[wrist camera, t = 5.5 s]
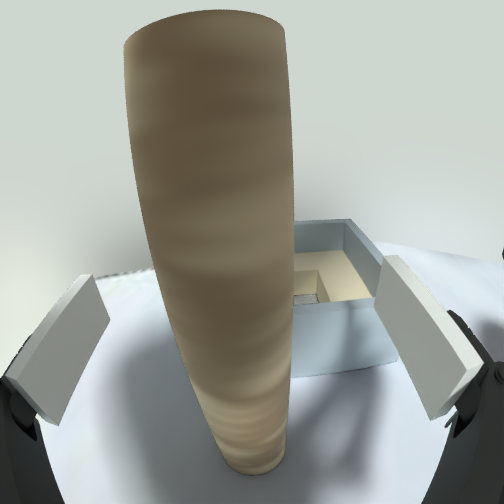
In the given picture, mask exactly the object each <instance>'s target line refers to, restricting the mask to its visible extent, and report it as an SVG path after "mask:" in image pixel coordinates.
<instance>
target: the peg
mask: <svg viewBox="0 0 504 504" xmlns="http://www.w3.org/2000/svg"><path fill="white" fill-rule="evenodd" d="M124 77H125V93H126V107H127V118H128V127H129V136H130V144H131V152H132V159H133V166H134V172H135V179H136V184H137V190H138V196H139V201H140V206H141V212H142V216H143V221H144V226H145V230H146V235H147V240H148V244H149V248H150V252H151V257H152V261H153V265H154V268H155V272H156V276H157V280H158V284H159V287H160V291H161V294H162V298H163V301H164V305H165V308H166V311H167V315H168V318H169V321H170V324H171V327H172V331H173V334H174V337H175V340H176V343H177V346H178V348H179V351H180V354H181V357H182V360H183V363H184V365H185V368H186V371H187V374H188V376H189V379H190V382H191V384H192V387H193V389H194V392H195V394H196V397H197V399H198V402H199V404H200V407H201V409H202V411H203V414H204V416H205V418H206V421H207V423H208V425H209V427H210V430H211V432H212V434H213V436H214V438H215V441H216V443H217V445H218V447H219V449H220V451H221V453H222V455H223V457H224V459H225V461H226V463H227V464H228V465H229V466H230V467H231V468H232V469H234V470H235V471H237V472H239V473H242V474H246V475H260V474H264V473H267V472H269V471H271V470H273V469H274V468H275V467H277V466H278V465H279V463H280V462H281V461H282V459H283V457H284V453H285V444H286V433H287V420H288V407H289V393H290V376H291V357H292V334H293V303H294V183H293V182H294V181H293V152H292V151H293V150H292V127H291V110H290V94H289V80H288V79H289V78H288V65H287V53H286V43H285V32H284V28H283V27H282V26H281V25H280V24H279V23H278V22H277V21H275V20H273V19H271V18H268V17H266V16H263V15H260V14H256V13H251V12H245V11H237V10H202V11H195V12H188V13H183V14H179V15H174V16H171V17H167V18H164V19H161V20H159V21H156V22H153V23H151V24H149V25H147V26H145V27H143V28H141V29H140V30H138V31H136V32H135V33H134V34H132V35H131V36H130V37H129V38H128V39H127V41H126V42H125V44H124Z"/></svg>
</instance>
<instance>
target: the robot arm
mask: <svg viewBox="0 0 504 504" xmlns="http://www.w3.org/2000/svg"><path fill="white" fill-rule="evenodd" d="M502 255H503V259H504V249H503V253H502ZM373 307H374V309H375V311H376V312H377V314H378V316H379V318H380V320H381V321H382V323H383V325H384V327H385V329H386V330H387V332H388V334H389V336H390V338H391V340H392V342H393V344H394V346H395V347H396V349H397V351H398V353H399V355H400V357H401V359H402V361H403V363H404V365H405V367H406V369H407V371H408V373H409V375H410V377H411V380H412V382H413V384H414V386H415V388H416V390H417V392H418V394H419V397H420V399H421V401H422V403H423V406H424V408H425V410H426V412H427V415H428V417H429V419H430V421H431V420H433V419H436V418H438V417H441V416H443V415H445V414H447V413H448V412H449V411H450V409H451V408H452V407H453V406H454V404H455V406H456V409H457V411H456V412H455V414H454V415H453V416H452V417H451V418H450V419H449V421H448V422H447V423H446V425H445V428H447V427H448V426H449V425H450V424H451V423H452V425H451V428H450V432H449V435H448V438H447V441H446V445H445V448H444V451H443V453H442V456H441V459H440V462H439V464H438V467H437V470H436V472H435V475H434V477H433V479H432V482H431V484H430V486H429V488H428V491H427V493H426V495H425V497H424V499H423V501H422V503H421V504H504V362H494V361H493V360H492V358H491V357H490V356H489V354H488V353H487V351H486V350H485V349H484V347H483V346H482V344H481V343H480V342H479V340H478V339H477V338H476V336H475V335H473V332H472V331H471V330H470V328H468V326H467V324H466V323H465V322H464V321H463V319H462V318H461V317H460V316H458V315H457V314H456V313H454V312H453V311H451V310H449V311H446V310H445V309H444V308H443V306H442V305H441V304H440V303H439V301H438V300H437V299H436V298H435V297H434V295H433V294H432V293H431V292H430V291H429V289H428V288H427V287H426V286H425V285H424V284H423V282H422V281H421V280H420V279H419V278H418V277H417V276H416V275H415V273H414V272H413V271H412V270H411V269H410V268H409V267H408V266H407V264H406V263H405V262H404V261H403V260H402V259H401V258H400V257H399V256H398V255H391V256H383V260H382V266H381V271H380V277H379V282H378V287H377V292H376V297H375V301H374V306H373ZM109 322H110V317H109V315H108V313H107V310H106V308H105V306H104V303H103V301H102V298H101V296H100V293H99V291H98V288H97V285H96V283H95V280H94V278H93V275H92V274H80V275H79V277H78V278H77V279H76V280H75V281H74V282H73V283H72V285H71V286H70V287H69V288H68V289H67V291H66V292H65V293H64V294H63V295H62V297H61V298H60V299H59V300H58V301H57V303H56V304H55V305H54V307H53V308H52V309H51V310H50V312H49V313H48V314H47V315H46V317H45V318H44V319H43V321H42V322H41V323H40V325H39V326H38V327H37V329H36V330H35V331H34V333H33V334H31V335H30V336H29V337H28V338H27V340H26V341H25V343H24V344H23V347H21V348H20V350H19V351H18V354H16V356H15V357H14V359H13V360H12V362H11V363H10V365H9V366H8V368H7V370H6V371H5V373H4V374H3V376H2V377H1V378H0V504H65V503H64V500H63V498H62V496H61V493H60V491H59V488H58V485H57V483H56V480H55V477H54V474H53V471H52V468H51V465H50V462H49V459H48V456H47V452H46V448H45V445H44V441H43V437H42V433H41V429H40V424H39V422H38V420H37V419H36V418H35V416H36V414H37V413H38V414H39V415H40V416H41V417H42V418H43V419H44V420H45V421H46V422H49V423H51V424H54V425H57V426H59V424H60V421H61V419H62V417H63V414H64V412H65V410H66V407H67V405H68V403H69V401H70V398H71V396H72V394H73V392H74V390H75V388H76V385H77V383H78V381H79V379H80V377H81V375H82V373H83V371H84V369H85V367H86V365H87V363H88V361H89V359H90V357H91V355H92V353H93V351H94V349H95V347H96V346H97V344H98V342H99V340H100V338H101V336H102V334H103V333H104V331H105V329H106V327H107V325H108V324H109Z"/></svg>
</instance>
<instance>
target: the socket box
mask: <svg viewBox="0 0 504 504" xmlns="http://www.w3.org/2000/svg"><path fill="white" fill-rule="evenodd" d="M382 260H383V255H382V254H381V252H380V251H379V250H378V249H377V248H376V247H375V245H374V244H373V243H372V242H371V241H370V240H369V239H368V238H367V236H366V235H365V234H364V233H363V232H362V231H361V230H360V229H359V228H358V227H357V226H356V224H355V223H354V222H353V221H352V220H351V219H336V220H315V221H314V220H312V221H294V295H304V294H317V297H318V300H319V303H315V304H303V305H293V334H292V357H291V376H290V378H297V377H307V376H316V375H324V374H331V373H338V372H344V371H351V370H356V369H362V368H367V367H373V366H378V365H383V364H387V363H392V362H396V361H397V359H398V356H399V353H398V351H397V349H396V347H395V346H394V344H393V342H392V340H391V338H390V336H389V334H388V332H387V330H386V329H385V327H384V325H383V323H382V321H381V320H380V318H379V316H378V314H377V312H376V311H375V309H374V307H373V306H374V301H375V297H376V292H377V287H378V282H379V277H380V271H381V266H382Z"/></svg>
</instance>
